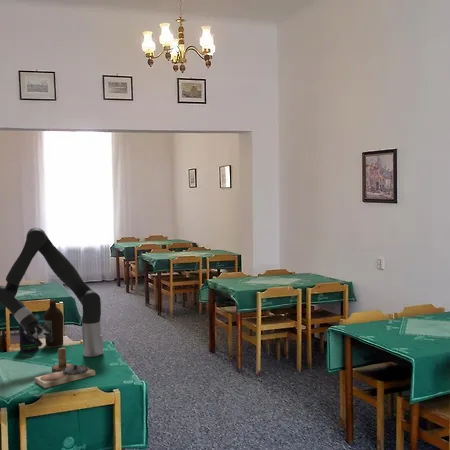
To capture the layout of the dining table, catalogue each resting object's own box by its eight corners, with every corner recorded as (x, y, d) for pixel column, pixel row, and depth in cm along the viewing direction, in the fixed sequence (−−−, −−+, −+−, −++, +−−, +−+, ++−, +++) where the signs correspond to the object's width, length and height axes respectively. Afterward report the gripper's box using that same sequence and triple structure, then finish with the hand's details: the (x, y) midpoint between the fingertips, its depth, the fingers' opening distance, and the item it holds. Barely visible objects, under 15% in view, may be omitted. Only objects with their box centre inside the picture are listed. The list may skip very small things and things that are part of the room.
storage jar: (42, 350, 297) (41, 322, 296) (24, 354, 290) (23, 326, 290) (34, 346, 304) (32, 320, 304) (16, 350, 298) (15, 323, 297)
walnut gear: (67, 364, 269) (67, 344, 269) (77, 369, 262) (76, 348, 261) (48, 369, 263) (47, 348, 262) (57, 374, 255) (56, 352, 255)
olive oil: (56, 340, 316) (54, 297, 315) (68, 343, 310) (66, 299, 309) (40, 344, 308) (38, 300, 306) (52, 347, 301) (50, 302, 300)
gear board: (84, 369, 261) (83, 359, 261) (95, 374, 253) (94, 364, 253) (34, 382, 245) (34, 371, 245) (45, 388, 237) (44, 377, 237)
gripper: (20, 316, 260) (41, 341, 257) (39, 310, 273) (60, 334, 270) (11, 327, 262) (32, 352, 259) (31, 320, 275) (51, 344, 272)
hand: (46, 343), depth 264 cm, fingers open, 8 cm apart
